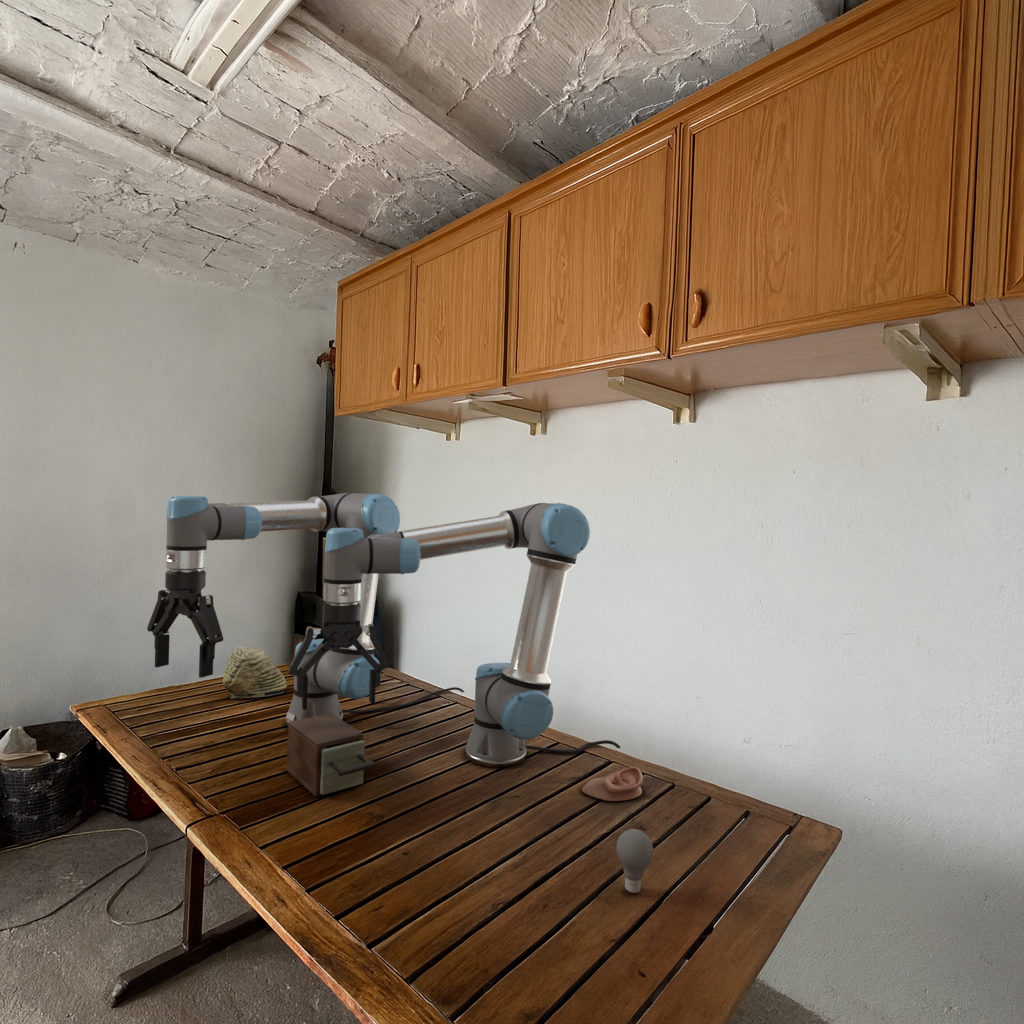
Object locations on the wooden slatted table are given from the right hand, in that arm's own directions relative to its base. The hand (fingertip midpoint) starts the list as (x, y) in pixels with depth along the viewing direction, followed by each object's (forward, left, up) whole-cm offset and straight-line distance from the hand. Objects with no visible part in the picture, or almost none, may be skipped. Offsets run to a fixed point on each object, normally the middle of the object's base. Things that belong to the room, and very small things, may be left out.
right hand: (338, 704), depth 131 cm
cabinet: (+1, -13, -20) cm, 24 cm away
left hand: (+30, -14, +5) cm, 34 cm away
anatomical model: (-59, +13, -20) cm, 64 cm away
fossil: (+15, -78, -20) cm, 82 cm away
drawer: (-1, -8, -19) cm, 21 cm away
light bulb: (-42, +46, -20) cm, 66 cm away
